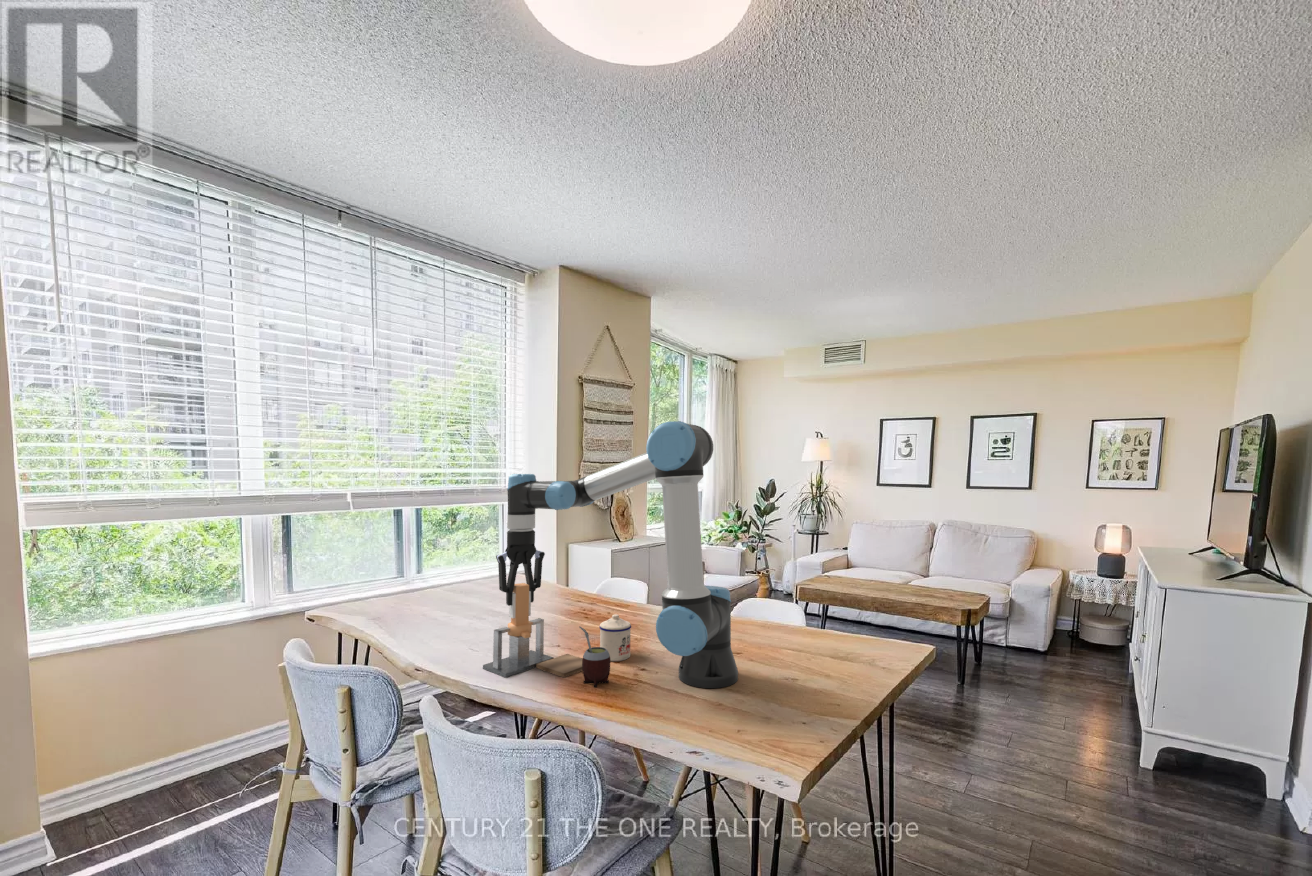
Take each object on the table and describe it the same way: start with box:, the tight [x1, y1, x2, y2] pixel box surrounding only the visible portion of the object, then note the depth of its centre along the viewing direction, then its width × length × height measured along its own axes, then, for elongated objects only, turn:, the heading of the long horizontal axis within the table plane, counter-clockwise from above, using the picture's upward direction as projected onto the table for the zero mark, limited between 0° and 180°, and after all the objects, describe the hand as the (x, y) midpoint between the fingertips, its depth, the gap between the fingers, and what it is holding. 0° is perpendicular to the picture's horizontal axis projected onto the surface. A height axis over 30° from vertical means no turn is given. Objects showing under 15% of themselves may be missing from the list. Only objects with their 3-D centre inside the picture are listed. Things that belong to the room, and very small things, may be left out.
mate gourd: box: [579, 626, 612, 688], centre depth 139 cm, size 8×8×15 cm
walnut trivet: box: [535, 653, 583, 678], centre depth 150 cm, size 11×11×1 cm
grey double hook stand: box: [482, 617, 555, 678], centre depth 152 cm, size 16×10×11 cm, turn 141°
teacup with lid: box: [599, 613, 632, 662], centre depth 160 cm, size 12×9×12 cm
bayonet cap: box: [507, 582, 533, 639], centre depth 152 cm, size 12×6×13 cm, turn 35°
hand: (519, 615), depth 152 cm, fingers closed on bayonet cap, 4 cm apart
